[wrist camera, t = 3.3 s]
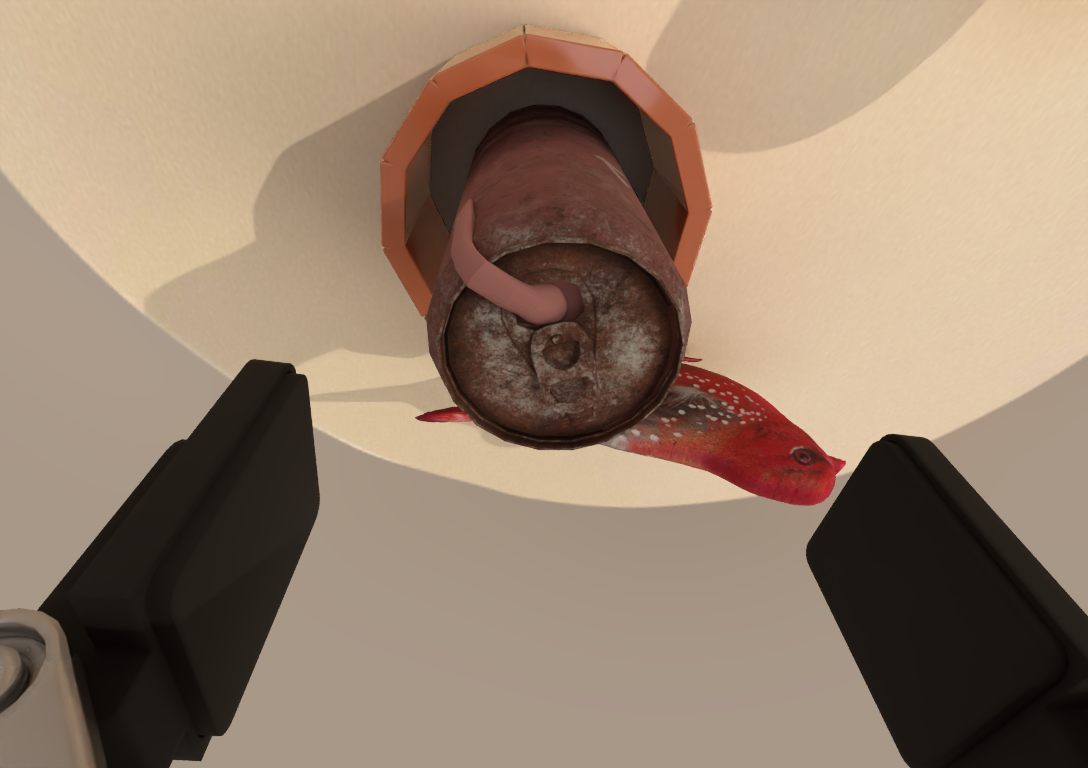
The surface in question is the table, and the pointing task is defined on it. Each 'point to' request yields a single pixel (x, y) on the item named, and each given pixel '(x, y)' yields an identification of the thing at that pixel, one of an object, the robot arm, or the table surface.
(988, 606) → the robot arm
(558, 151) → the can
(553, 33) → the pot
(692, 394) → the decorative bird figurine
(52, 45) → the table surface
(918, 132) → the table surface
